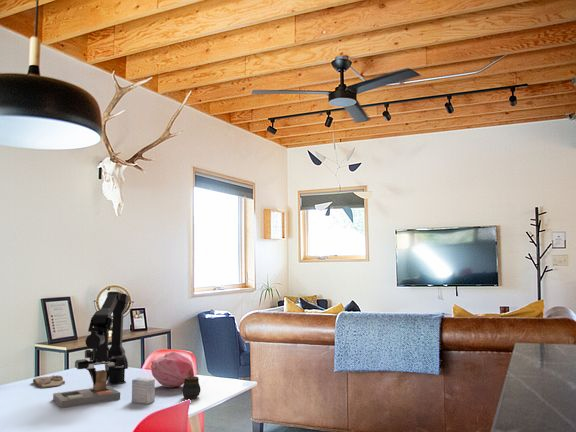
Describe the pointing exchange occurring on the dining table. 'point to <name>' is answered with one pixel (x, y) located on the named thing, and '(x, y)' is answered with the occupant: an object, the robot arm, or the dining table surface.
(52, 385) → the fossil
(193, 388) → the mate gourd
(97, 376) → the plug
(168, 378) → the decorative rock
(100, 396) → the socket plate
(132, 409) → the dining table surface
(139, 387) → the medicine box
